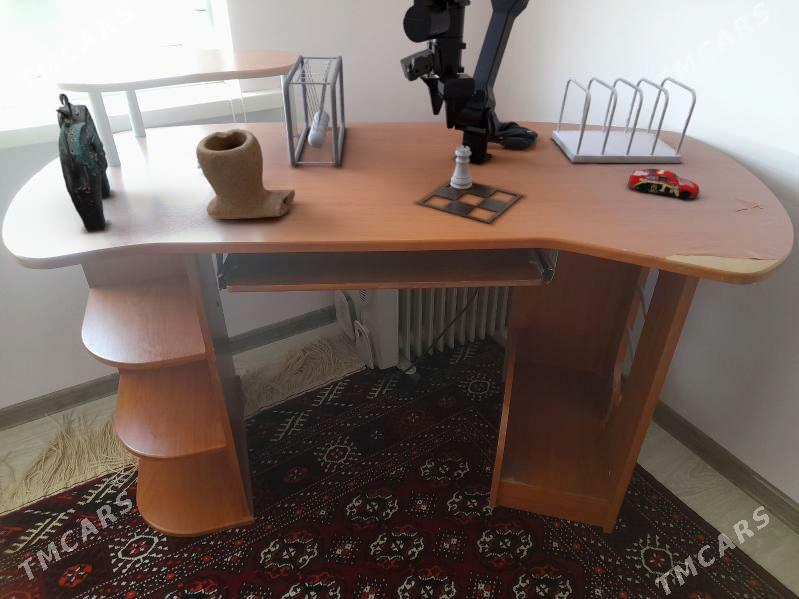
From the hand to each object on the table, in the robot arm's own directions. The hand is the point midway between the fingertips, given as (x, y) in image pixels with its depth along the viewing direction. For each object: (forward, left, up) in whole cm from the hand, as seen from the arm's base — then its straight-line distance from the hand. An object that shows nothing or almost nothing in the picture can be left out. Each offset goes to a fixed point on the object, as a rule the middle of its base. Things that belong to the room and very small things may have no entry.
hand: (442, 121), depth 108 cm
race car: (-20, +41, -12) cm, 47 cm away
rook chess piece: (+2, +6, -12) cm, 13 cm away
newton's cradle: (0, -33, -12) cm, 35 cm away
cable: (-30, +1, -12) cm, 32 cm away
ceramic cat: (+49, -43, -12) cm, 67 cm away
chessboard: (+6, +11, -12) cm, 17 cm away
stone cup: (+35, -19, -12) cm, 42 cm away
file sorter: (-39, +26, -12) cm, 48 cm away
